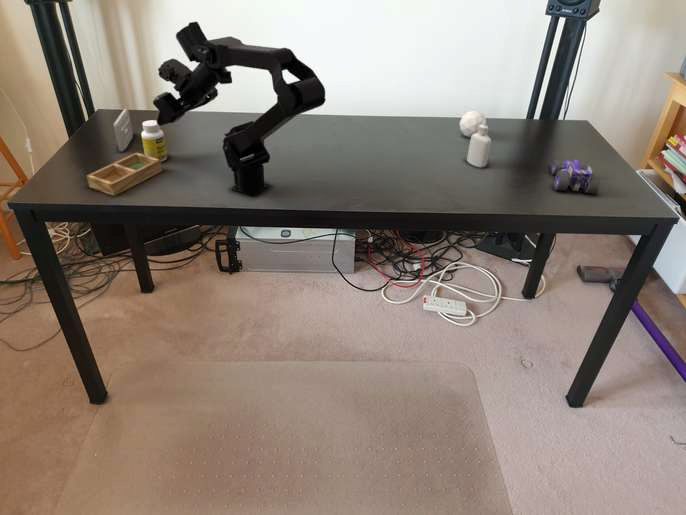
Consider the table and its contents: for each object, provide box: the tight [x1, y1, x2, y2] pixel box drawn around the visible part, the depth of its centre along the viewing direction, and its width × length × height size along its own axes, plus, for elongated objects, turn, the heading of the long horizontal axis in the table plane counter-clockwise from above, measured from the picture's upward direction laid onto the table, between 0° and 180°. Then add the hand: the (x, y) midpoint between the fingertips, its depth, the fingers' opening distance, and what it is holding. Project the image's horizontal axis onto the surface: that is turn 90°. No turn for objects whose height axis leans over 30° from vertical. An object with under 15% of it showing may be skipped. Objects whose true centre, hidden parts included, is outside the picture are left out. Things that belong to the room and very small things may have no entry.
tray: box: [86, 152, 163, 197], centre depth 127 cm, size 8×15×3 cm, turn 152°
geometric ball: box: [459, 110, 488, 139], centre depth 157 cm, size 8×8×8 cm
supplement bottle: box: [141, 119, 168, 163], centre depth 135 cm, size 5×5×10 cm
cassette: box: [112, 108, 134, 153], centre depth 143 cm, size 12×2×8 cm, turn 5°
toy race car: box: [550, 159, 601, 195], centre depth 135 cm, size 10×15×6 cm, turn 172°
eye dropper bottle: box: [466, 120, 492, 168], centre depth 140 cm, size 4×6×12 cm
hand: (169, 117), depth 129 cm, fingers open, 9 cm apart
